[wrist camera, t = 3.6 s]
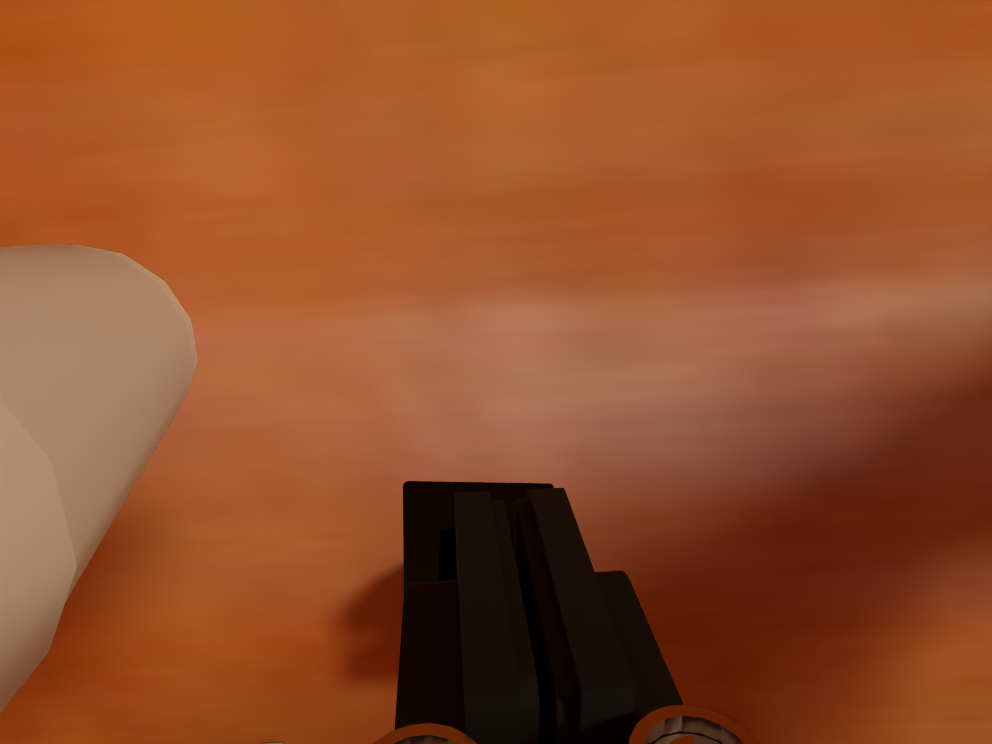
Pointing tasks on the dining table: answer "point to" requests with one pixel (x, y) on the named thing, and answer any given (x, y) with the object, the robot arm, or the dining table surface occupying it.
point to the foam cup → (74, 422)
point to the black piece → (444, 524)
